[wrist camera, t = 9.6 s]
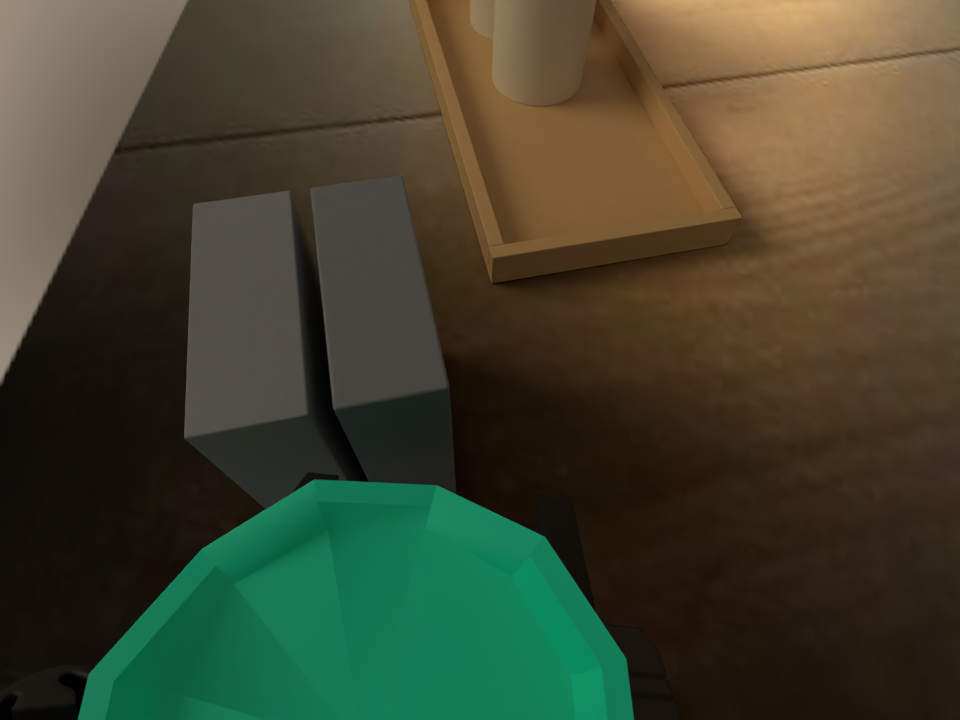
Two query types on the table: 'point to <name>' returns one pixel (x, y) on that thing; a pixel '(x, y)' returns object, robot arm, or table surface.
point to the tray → (571, 155)
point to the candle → (367, 621)
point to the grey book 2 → (382, 334)
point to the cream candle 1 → (482, 17)
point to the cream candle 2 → (540, 49)
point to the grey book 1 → (260, 350)
